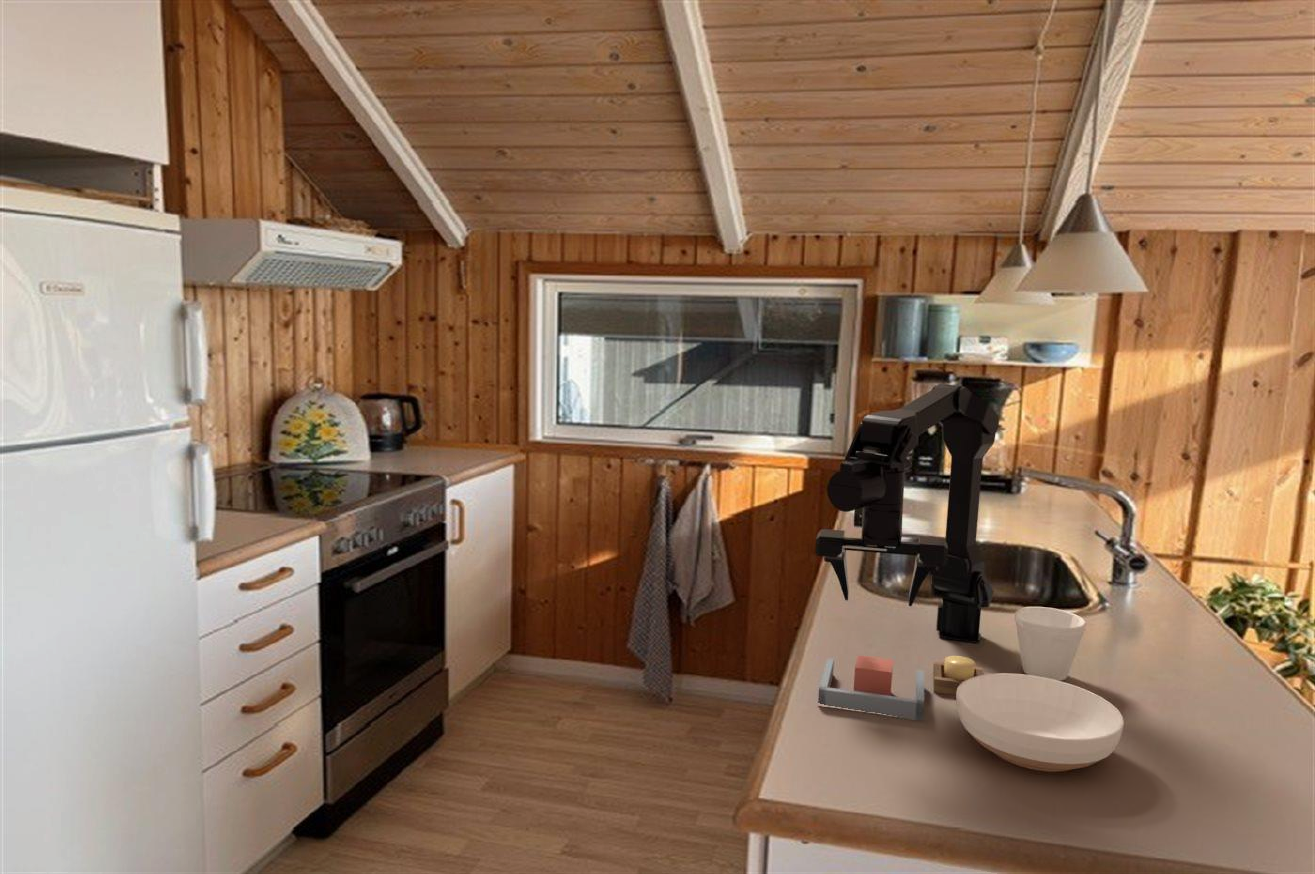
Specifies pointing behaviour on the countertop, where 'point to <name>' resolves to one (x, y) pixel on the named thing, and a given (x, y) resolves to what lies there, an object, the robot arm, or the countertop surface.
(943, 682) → the housing
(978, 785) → the countertop surface
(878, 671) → the cube
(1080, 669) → the countertop surface
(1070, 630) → the cup
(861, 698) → the pocket
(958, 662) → the pale yellow rounded block
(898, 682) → the countertop surface
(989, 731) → the bowl
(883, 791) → the countertop surface
